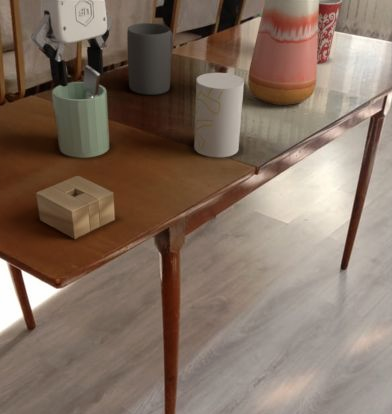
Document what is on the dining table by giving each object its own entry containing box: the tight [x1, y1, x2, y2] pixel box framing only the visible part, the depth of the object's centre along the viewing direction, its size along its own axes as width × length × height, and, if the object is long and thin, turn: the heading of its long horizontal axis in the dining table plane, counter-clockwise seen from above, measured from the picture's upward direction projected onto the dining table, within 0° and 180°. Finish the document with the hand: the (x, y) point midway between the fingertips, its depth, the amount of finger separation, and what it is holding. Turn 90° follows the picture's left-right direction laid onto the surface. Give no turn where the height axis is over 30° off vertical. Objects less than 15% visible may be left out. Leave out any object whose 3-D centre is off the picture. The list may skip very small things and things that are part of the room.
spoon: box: [82, 64, 101, 99], centre depth 108 cm, size 1×3×14 cm, turn 50°
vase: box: [247, 0, 319, 106], centre depth 126 cm, size 14×14×30 cm
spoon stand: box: [35, 175, 116, 240], centre depth 92 cm, size 8×8×4 cm
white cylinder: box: [193, 72, 245, 158], centre depth 111 cm, size 8×8×12 cm
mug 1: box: [126, 22, 174, 96], centre depth 135 cm, size 14×9×12 cm
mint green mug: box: [51, 81, 110, 159], centre depth 111 cm, size 12×9×10 cm
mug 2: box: [317, 0, 343, 64], centre depth 154 cm, size 13×9×14 cm
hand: (78, 78), depth 105 cm, fingers open, 7 cm apart
